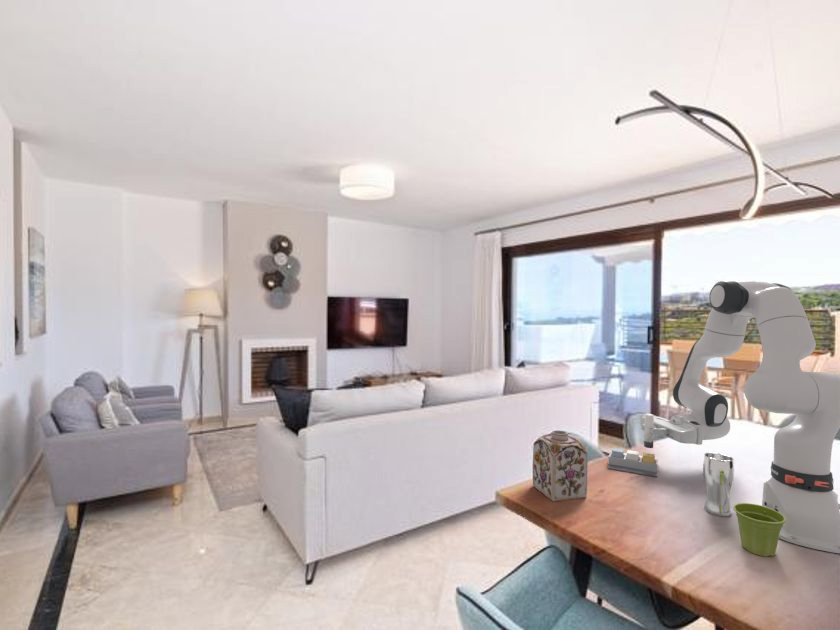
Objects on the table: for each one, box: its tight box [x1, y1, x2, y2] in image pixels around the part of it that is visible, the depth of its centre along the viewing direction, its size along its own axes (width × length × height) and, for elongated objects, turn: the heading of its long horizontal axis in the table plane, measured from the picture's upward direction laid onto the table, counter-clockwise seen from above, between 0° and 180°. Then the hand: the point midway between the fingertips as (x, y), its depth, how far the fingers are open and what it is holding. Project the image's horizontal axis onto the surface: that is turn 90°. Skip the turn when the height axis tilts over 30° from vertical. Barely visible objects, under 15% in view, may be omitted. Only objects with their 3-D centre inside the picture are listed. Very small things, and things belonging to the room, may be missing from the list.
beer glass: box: [702, 452, 735, 517], centre depth 117 cm, size 7×7×15 cm
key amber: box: [642, 452, 656, 464], centre depth 148 cm, size 4×4×3 cm
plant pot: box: [732, 502, 786, 557], centre depth 99 cm, size 9×9×9 cm
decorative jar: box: [532, 429, 589, 502], centre depth 129 cm, size 12×12×18 cm
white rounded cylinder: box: [643, 413, 655, 449], centre depth 148 cm, size 3×3×11 cm
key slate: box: [611, 447, 625, 459], centre depth 152 cm, size 4×4×3 cm
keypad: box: [607, 451, 659, 478], centre depth 150 cm, size 13×15×3 cm
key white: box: [626, 449, 640, 461], centre depth 150 cm, size 4×4×3 cm
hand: (646, 429), depth 148 cm, fingers closed on white rounded cylinder, 3 cm apart
